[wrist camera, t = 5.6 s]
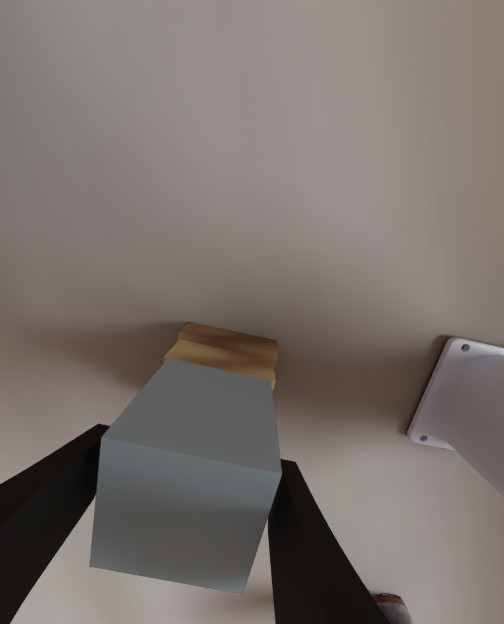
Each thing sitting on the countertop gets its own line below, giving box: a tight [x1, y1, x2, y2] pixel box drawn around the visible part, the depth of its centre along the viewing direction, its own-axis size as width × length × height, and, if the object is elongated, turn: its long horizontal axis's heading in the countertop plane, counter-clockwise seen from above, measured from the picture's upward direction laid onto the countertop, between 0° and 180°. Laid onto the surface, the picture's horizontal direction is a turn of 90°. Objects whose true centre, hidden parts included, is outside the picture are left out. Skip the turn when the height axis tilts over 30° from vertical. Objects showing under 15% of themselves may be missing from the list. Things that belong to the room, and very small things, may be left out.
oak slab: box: [162, 339, 276, 393], centre depth 13 cm, size 6×6×2 cm
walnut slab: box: [177, 322, 280, 374], centre depth 16 cm, size 6×6×2 cm
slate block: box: [89, 358, 282, 594], centre depth 9 cm, size 5×5×5 cm
